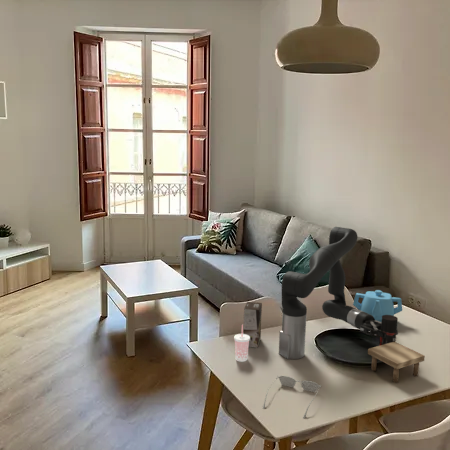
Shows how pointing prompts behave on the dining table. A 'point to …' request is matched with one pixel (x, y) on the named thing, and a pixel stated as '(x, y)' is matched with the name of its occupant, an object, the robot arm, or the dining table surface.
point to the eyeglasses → (291, 382)
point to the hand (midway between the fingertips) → (391, 334)
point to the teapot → (377, 304)
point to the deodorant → (388, 329)
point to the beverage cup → (241, 346)
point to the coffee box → (253, 322)
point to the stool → (395, 357)
